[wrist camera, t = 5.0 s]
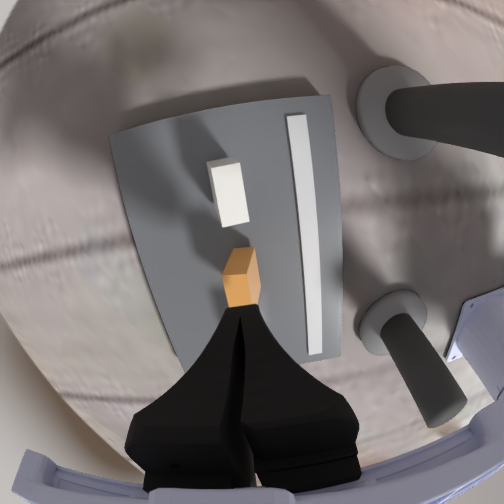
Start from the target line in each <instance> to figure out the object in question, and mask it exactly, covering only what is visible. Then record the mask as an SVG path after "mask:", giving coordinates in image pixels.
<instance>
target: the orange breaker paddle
mask: <svg viewBox="0 0 504 504" xmlns="http://www.w3.org/2000/svg"><path fill="white" fill-rule="evenodd" d="M222 280H223V284H224V288H225V293H226V297H227V301H228V305H229V307H236V306H243V305H250V304H257V305H258V300H259V295H260V289H261V283H260V277H259V271H258V264H257V258H256V252H255V247H243V248H233V251H232V253H231V255H230V257H229V260H228V262H227V264H226V266H225V269H224V271H223V273H222Z"/></svg>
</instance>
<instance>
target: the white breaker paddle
mask: <svg viewBox="0 0 504 504" xmlns="http://www.w3.org/2000/svg"><path fill="white" fill-rule="evenodd" d="M206 163H207V168H208V173H209V178H210V184H211V189H212V194H213V199H214V204H215V209H216V212H217V215H218V217H219V220H220V223H221V225H222V228H223V227H227V226H232V225H236V224H241V223H246V222H250V221H249V215H248V209H247V203H246V197H245V191H244V185H243V179H242V172H241V166H240V162H238V161H236V160H234V159H232V158H230V157H229V158H223V159H218V160H213V161H208V162H206Z"/></svg>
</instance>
